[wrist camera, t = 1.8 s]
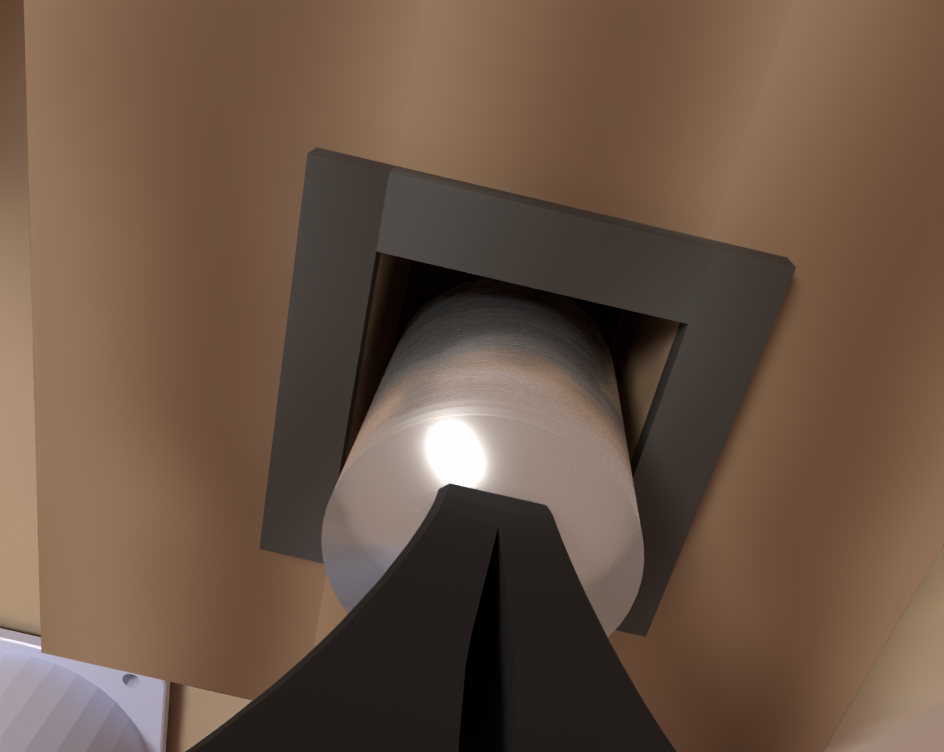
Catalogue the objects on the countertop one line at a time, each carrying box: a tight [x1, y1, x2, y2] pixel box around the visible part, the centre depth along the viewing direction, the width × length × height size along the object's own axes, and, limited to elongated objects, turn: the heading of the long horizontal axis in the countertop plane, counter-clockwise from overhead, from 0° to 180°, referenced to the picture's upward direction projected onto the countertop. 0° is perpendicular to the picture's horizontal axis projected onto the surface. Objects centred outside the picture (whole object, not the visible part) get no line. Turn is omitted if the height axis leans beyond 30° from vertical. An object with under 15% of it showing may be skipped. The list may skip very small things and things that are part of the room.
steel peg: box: [321, 278, 644, 637], centre depth 12 cm, size 4×4×5 cm
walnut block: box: [24, 0, 944, 752], centre depth 16 cm, size 16×16×6 cm
